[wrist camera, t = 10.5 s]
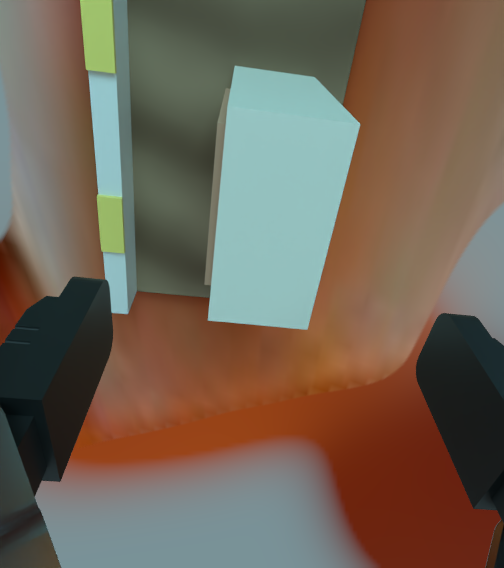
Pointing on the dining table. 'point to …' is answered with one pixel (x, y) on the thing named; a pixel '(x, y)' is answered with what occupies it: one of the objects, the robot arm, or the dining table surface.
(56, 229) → the dining table surface
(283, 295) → the carton
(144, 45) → the shelf board
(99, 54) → the rail
